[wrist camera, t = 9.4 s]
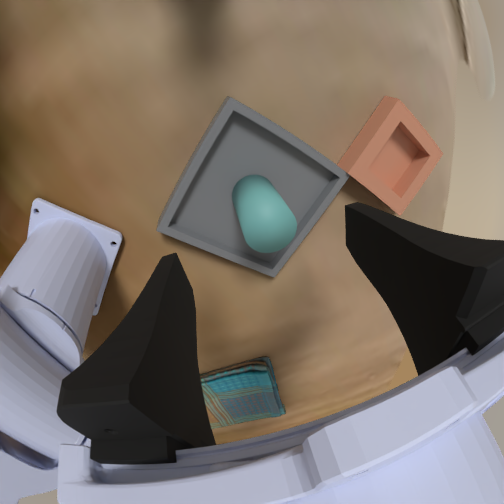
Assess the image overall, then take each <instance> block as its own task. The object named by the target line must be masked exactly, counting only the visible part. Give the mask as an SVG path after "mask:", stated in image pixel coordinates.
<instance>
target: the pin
mask: <svg viewBox="0 0 504 504" xmlns="http://www.w3.org/2000/svg"><path fill="white" fill-rule="evenodd" d="M232 201H233V204H234V207H235V210H236V213H237V216H238V219H239V222H240V226H241V229H242V232H243V235H244V238H245V241H246V242H247V244H248V245H249V246H250V247H251V248H252V249H254V250H256V251H258V252H262V253H272V252H276V251H279V250H281V249H283V248H284V247H286V246H287V245H288V244H289V243H290V242H291V241H292V239H293V238H294V236H295V234H296V230H297V221H296V218H295V216H294V214H293V213H292V212H291V210H290V209H289V207H288V206H287V204H286V203H285V202H284V200H283V199H282V197H281V196H280V194H279V193H278V192H277V190H276V189H275V187H274V186H273V185H272V183H271V182H270V181H269V180H268V179H267V178H265V177H264V176H261V175H248V176H245V177H243V178H242V179H240V180H239V181H238V182H237V183H236V185H235V186H234V188H233V191H232Z"/></svg>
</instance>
